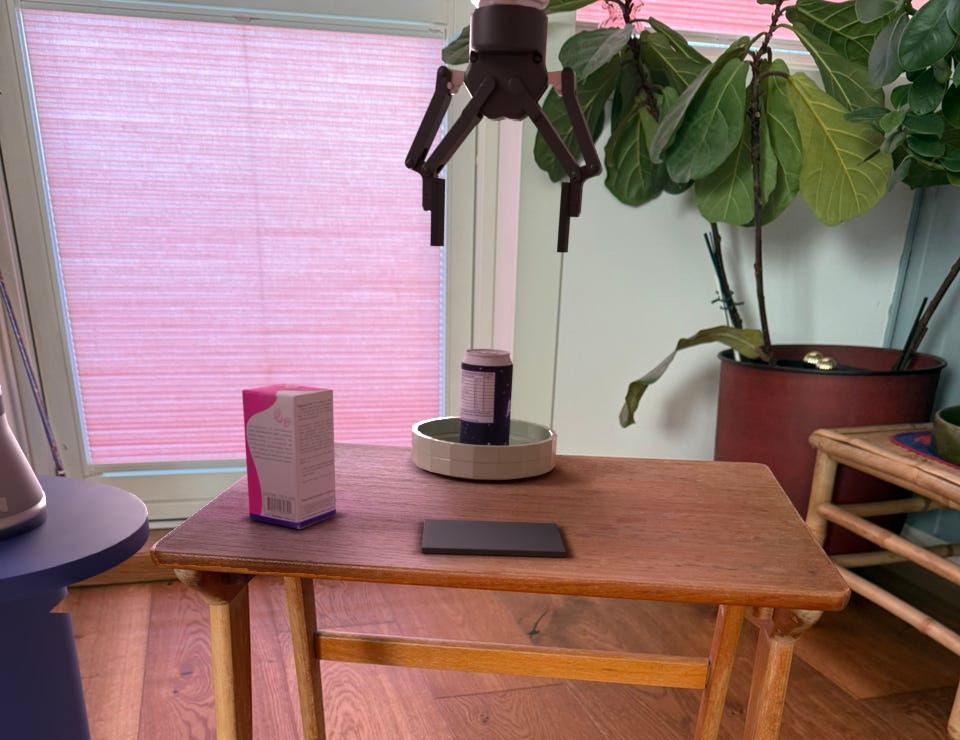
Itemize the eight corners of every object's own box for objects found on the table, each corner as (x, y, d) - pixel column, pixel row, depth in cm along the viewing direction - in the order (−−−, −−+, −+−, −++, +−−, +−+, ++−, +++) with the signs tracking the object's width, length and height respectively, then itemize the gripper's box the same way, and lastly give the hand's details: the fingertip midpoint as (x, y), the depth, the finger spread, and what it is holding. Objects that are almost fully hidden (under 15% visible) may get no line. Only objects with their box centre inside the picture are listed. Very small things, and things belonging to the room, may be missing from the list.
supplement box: (338, 514, 84) (335, 388, 79) (298, 530, 79) (292, 396, 75) (288, 504, 87) (282, 380, 82) (247, 519, 82) (238, 389, 77)
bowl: (408, 481, 96) (409, 443, 94) (414, 447, 111) (415, 414, 109) (561, 486, 97) (564, 449, 95) (546, 451, 111) (549, 418, 110)
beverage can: (513, 466, 102) (519, 355, 97) (463, 467, 100) (467, 354, 95) (501, 455, 107) (506, 348, 102) (454, 455, 105) (457, 347, 100)
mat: (421, 553, 75) (421, 547, 75) (424, 524, 83) (424, 519, 82) (565, 557, 76) (566, 551, 76) (555, 528, 83) (556, 523, 83)
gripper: (642, 17, 88) (620, 254, 97) (398, 18, 93) (397, 243, 102) (636, -1, 82) (612, 255, 91) (373, 1, 87) (375, 243, 95)
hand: (498, 249), depth 96 cm, fingers open, 13 cm apart
